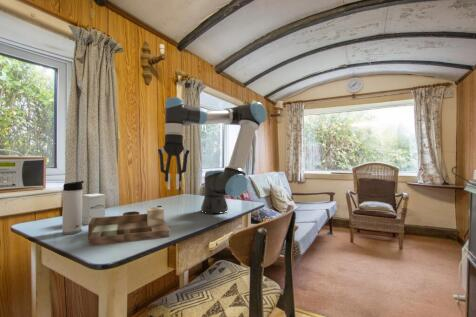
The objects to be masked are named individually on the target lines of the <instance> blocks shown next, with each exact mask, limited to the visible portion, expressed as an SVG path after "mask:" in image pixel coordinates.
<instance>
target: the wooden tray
mask: <svg viewBox="0 0 476 317" xmlns="http://www.w3.org/2000/svg"><path fill="white" fill-rule="evenodd" d="M87 226H88V227H87V229H88V230H87V231H88V232H87V239H88V246H89V247H92V246H99V245H109V244H116V243H119V244H120V243H126V242H134V241H135V242H136V241H143V240H153V239H159V238H169V237H170V229H169V227H168V224H167V223H166V221H165V220H164V224H163V225H153V226H148V224H147V213H139V214H136V215H123V214H122V215H112V216H111V215H110V216H105V217H96V218H92V219H91V221H90V223H89V224H88V225H87ZM152 238H153V239H152Z"/></svg>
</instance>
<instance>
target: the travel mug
mask: <svg viewBox="0 0 476 317" xmlns="http://www.w3.org/2000/svg"><path fill="white" fill-rule="evenodd" d="M84 183H85V182H84V180H81V181H75V182H67V183H64V184H63V187H62V190H63V193H62V227H61V229H62V231H61V233H62V234H63V235H66V236H67V235H68V236H69V235H76V234H79V233H81V232H83V231H82V230H83V227H82V226H83V223H82V195H83V193H84V192H83V190H84V189H83V184H84Z"/></svg>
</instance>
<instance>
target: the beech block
mask: <svg viewBox="0 0 476 317" xmlns="http://www.w3.org/2000/svg"><path fill="white" fill-rule="evenodd" d="M146 210H147V212H146V214H147V224H148V226H153V225H163V224H164V221H165V209H164V208H163V206H162V207H157V206H156V207H147V209H146Z"/></svg>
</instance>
